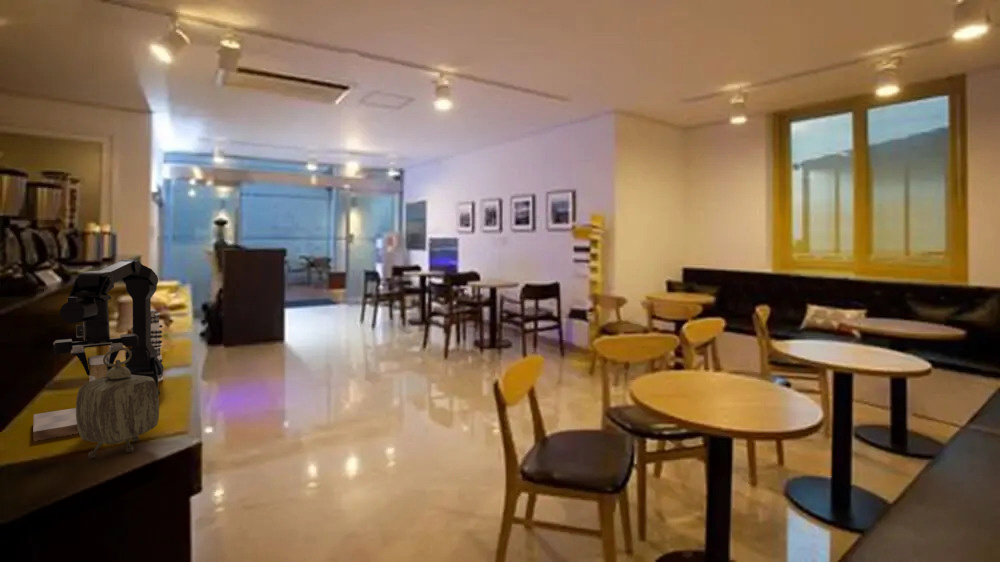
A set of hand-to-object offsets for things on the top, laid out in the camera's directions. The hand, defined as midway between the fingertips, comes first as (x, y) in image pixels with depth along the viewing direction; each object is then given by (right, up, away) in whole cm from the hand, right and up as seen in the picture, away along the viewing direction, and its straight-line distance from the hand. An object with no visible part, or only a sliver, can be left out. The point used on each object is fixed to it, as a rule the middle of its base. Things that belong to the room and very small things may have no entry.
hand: (98, 374), depth 151 cm
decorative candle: (-13, -10, +42) cm, 45 cm away
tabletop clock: (+21, -15, -20) cm, 32 cm away
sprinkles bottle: (0, -9, +1) cm, 9 cm away
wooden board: (-3, -13, -2) cm, 14 cm away
